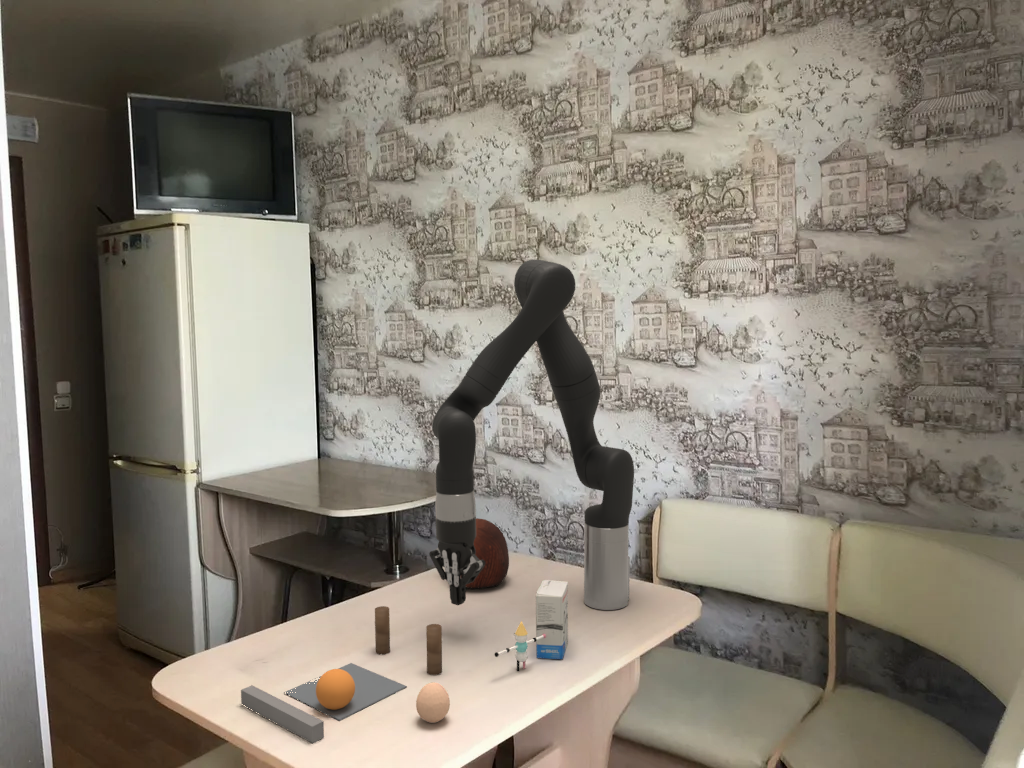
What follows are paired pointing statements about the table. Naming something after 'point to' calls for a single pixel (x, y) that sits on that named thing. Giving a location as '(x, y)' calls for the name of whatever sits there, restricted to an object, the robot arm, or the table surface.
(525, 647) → the toy figure
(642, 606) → the table surface
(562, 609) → the ink box
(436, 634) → the post
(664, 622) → the table surface
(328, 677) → the ball
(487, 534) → the figurine
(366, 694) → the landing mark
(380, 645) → the post
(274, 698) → the wall
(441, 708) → the egg
